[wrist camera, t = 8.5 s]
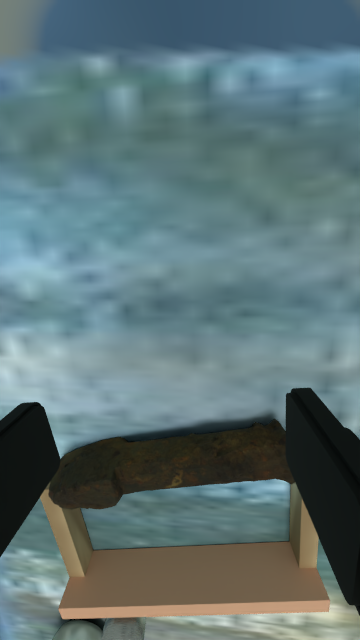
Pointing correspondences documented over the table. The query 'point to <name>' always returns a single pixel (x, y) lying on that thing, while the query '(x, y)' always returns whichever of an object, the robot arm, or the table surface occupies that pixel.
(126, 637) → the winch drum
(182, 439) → the dark brown log
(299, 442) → the robot arm
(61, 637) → the plastic bottle
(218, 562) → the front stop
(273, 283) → the table surface
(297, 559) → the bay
